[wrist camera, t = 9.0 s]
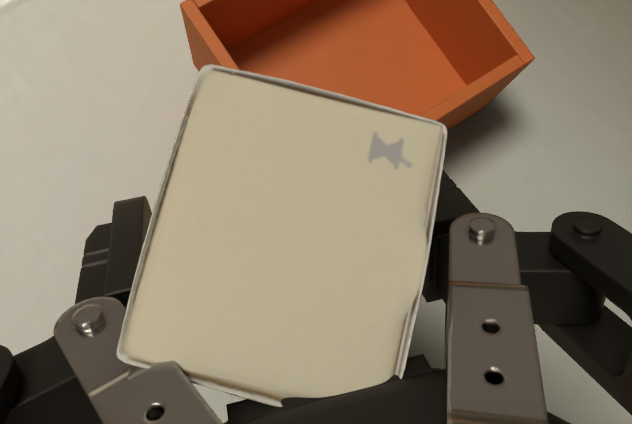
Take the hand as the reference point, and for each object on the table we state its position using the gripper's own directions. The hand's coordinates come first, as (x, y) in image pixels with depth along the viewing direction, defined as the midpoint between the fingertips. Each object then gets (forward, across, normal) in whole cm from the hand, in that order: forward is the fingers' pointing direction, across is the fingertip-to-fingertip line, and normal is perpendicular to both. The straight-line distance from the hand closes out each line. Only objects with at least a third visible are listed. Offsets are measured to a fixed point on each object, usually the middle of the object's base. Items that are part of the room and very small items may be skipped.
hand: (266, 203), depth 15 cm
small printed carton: (+2, 0, +4) cm, 5 cm away
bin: (+16, -6, +4) cm, 17 cm away
